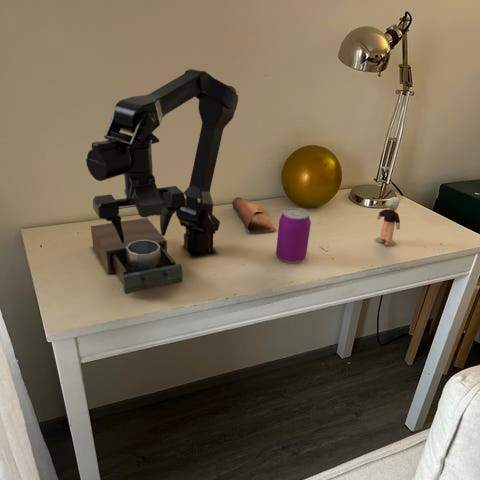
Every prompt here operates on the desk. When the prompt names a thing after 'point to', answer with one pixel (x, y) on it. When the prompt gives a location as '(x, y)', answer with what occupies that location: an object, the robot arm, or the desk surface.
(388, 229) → the grandmother figurine
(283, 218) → the beverage can
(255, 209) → the sunglasses case
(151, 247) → the cup
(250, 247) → the desk surface
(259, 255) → the desk surface
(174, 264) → the drawer
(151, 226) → the cabinet
